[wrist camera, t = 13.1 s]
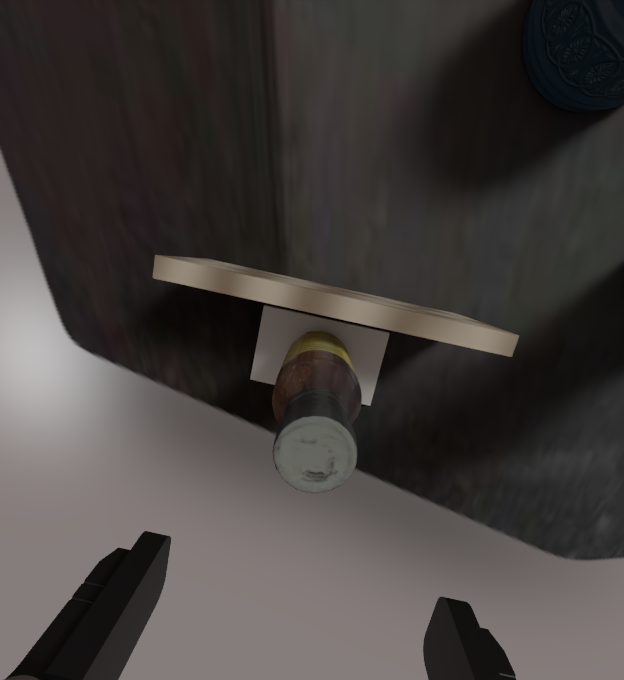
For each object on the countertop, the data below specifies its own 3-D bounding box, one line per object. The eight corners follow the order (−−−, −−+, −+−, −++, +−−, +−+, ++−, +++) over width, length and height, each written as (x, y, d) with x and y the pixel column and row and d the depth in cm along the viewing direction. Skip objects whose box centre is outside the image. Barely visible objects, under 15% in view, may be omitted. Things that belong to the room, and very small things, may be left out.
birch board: (459, 314, 35) (519, 335, 24) (454, 329, 35) (511, 357, 24) (208, 258, 35) (155, 255, 24) (205, 274, 35) (152, 278, 24)
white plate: (388, 331, 35) (389, 333, 35) (369, 402, 37) (370, 405, 36) (265, 304, 35) (263, 305, 35) (251, 377, 37) (250, 379, 36)
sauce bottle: (327, 396, 36) (330, 547, 17) (277, 366, 36) (219, 486, 16) (361, 345, 35) (407, 445, 16) (309, 313, 34) (288, 375, 15)
